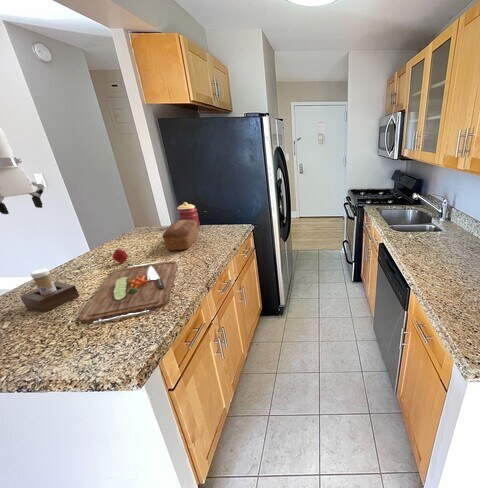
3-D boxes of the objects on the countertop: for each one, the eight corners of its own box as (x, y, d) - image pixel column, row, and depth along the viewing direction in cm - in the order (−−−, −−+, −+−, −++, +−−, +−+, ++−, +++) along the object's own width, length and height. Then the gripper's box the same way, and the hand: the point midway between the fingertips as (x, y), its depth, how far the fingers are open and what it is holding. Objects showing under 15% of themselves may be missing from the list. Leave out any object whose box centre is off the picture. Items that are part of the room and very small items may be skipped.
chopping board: (115, 270, 124) (113, 264, 123) (178, 260, 133) (177, 255, 132) (73, 329, 85) (69, 321, 84) (165, 310, 95) (163, 303, 94)
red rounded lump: (128, 259, 135) (123, 245, 132) (130, 262, 131) (125, 248, 128) (114, 262, 131) (109, 248, 128) (116, 266, 128) (111, 251, 125)
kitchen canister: (204, 224, 189) (199, 201, 182) (189, 230, 178) (183, 205, 171) (191, 222, 194) (186, 199, 187) (175, 227, 183) (170, 203, 176)
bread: (201, 234, 171) (198, 216, 166) (190, 250, 145) (185, 230, 140) (178, 235, 168) (174, 217, 163) (163, 253, 142) (157, 232, 138)
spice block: (25, 307, 97) (19, 296, 95) (61, 291, 106) (56, 281, 105) (45, 312, 94) (39, 301, 92) (79, 296, 103) (74, 285, 102)
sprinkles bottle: (43, 306, 97) (28, 275, 92) (46, 300, 101) (31, 270, 95) (60, 302, 100) (46, 271, 94) (62, 297, 103) (49, 266, 98)
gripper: (26, 161, 100) (45, 204, 107) (-43, 165, 85) (-17, 215, 91) (39, 161, 98) (57, 205, 105) (-30, 165, 83) (-4, 217, 89)
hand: (23, 210), depth 98 cm, fingers open, 9 cm apart
